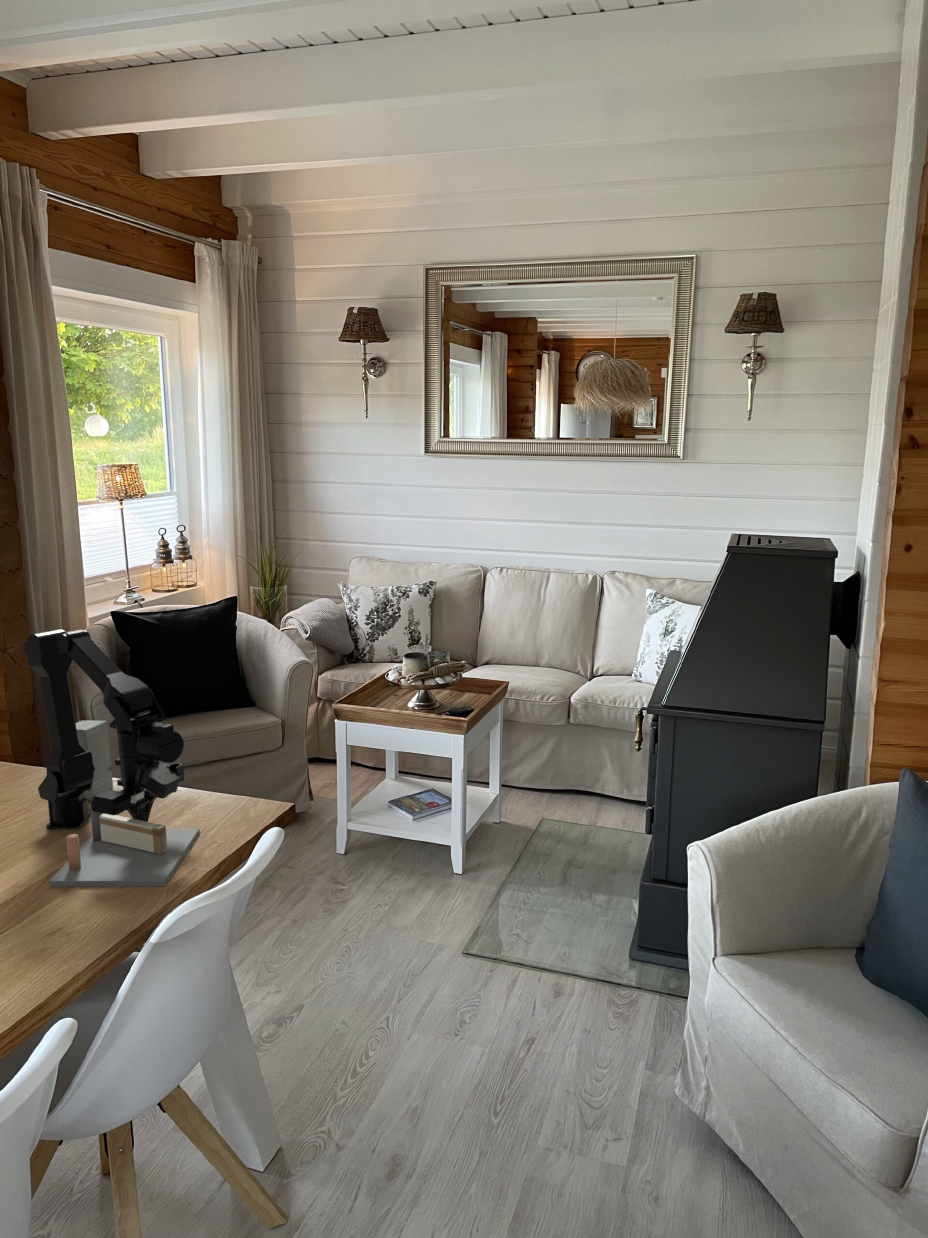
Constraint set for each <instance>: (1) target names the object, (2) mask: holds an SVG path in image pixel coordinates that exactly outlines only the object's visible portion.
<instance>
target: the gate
mask: <svg viewBox="0 0 928 1238" xmlns="http://www.w3.org/2000/svg"><path fill="white" fill-rule="evenodd" d="M99 821H100V828H101V841H106V842H110V843H114V844H119V845H123V846H128V847H132V848H136V849H141V850H145V851H150V852H154V853H157V854H162V853H164V852H166V851H167V839H166V828H167V827H166V824H160V823H154V822H150V821H148V822H145V821H141V820H136V819H133V818H132V817H125V816H122V815H109V814H104V813H102V815H100V819H99Z"/></svg>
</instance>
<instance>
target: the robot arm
mask: <svg viewBox="0 0 928 1238" xmlns="http://www.w3.org/2000/svg"><path fill="white" fill-rule="evenodd" d="M23 652H24V654H25V656H26V660H27V664H28V666H29V667H30V669H32V671H33V672H35V674H36V675H37V676H38V677H39V679H40V685H41V691H42V697H43V703H44V709H45V715H46V720H47V725H48V731H49V738H50V743H51V751H50V752H49V756H48V758H47V760H46V763H45V770H46V776H45V777H44V779H43V780H42V781H41V783H39V785H38V787H37V790H38V794H39V798H40V799H42V800H44V801H45V800H46V801H47V806H48V817H49V823H47V824H46V827H45V828H46V829H78V828H80V827H81V826H82V825H83V824H84V823H85V822H86V821H87V820H88V819H89V818H91V813H90V811H91V810H92V811H94V812H99V813H102V814H109V815H117V816H119V815H120V814H121V813H123V812H125V811H127V812H128V814H129V815H130V818H131V819H136V820H141V821H145V822H149V818H150V815H151V812H152V808H153V805H154V803H155V801H156V799H166V798H167V797H169V796H170V795H171V794H173V793H174V794H175V793H176V792H177V791H178V787H179V784H180V783H183V782H184V780H185V777H184V776H185V769H184V764H183V763H181V762H179V761H177V760H178V759H179V757H181V755H182V752H183V751H184V742H185V741H184V739H183V737H182V735H181V734H180V733H179V732H177V731H175V729H174V725H173V724H170V723H162V722H165V721H167V717H166V715H165V714H164V709H163V708H162V706H161V705H160V704H159V701H158V700H157V698H156V697H155V695H154V693H153V691H152V689H151V688H150V687H149V686H148V685H147V684H146V683H145V682H143V681H141V680H140V679H139V678H138V677H135V676H130V675H129V674H125V673H124V672H123V671H122V670H121V669H120V668H119V667H118V665H116V664H115V663H114V661H113V660H111V658H109V657H108V656H107V654H106V653H105V652H104V651H103V650H102V649H101V648H100V647H99V646H98V645H97V644H96V643H95V642H94V641H93V639H91V634H90V633H89V631H88V630H86V629H81V628H77V629H74V630H70V631H69V630H68V631H65V630H64V629H62V628H57V629H51V630H47V631H46V630H45V631H41V632H36V633H32V634H29V635H28V636H27V637H26V640H25V641H24V642H23ZM73 662H74V663H75V664H76V665H77V666H78V667H79V668H80V669H81V670H82V672H84V673H85V675H86V676H87V677H88V678H89V679H90V680H91V682H93V683H94V685H96V687H97V688H98V689H99V690H100V691H101V692H102V696H103V698H102V699H103V704H104V706H105V708H107V710H108V712H109V713H110V715H111V716H112V717H113V720H112V721H111V722H110V723H109V725H108V726H109V728H110V729H111V728H112V729H115V730H116V735H117V746H118V756H119V757H118V758H116V759H115V758H114V765H115V766H119V767H120V775H121V778H119V779H117V780H116V784H117V786H118V787H122V789H121V790H115V789H107V790H105V791H103V792H101V793H99V794H97V795H95V796H93V798H92V799H91V800H90V808H91V809H90V810H89V800H88V799H87V798H85V791H86V790H90V789H91V788H92V782H93V778H94V771H95V768H94V765H93V760H92V754H91V752H90V751H88V752H86V751H85V750H84V749H83V748H82V747H81V745H80V744H79V741H78V735H77V729H76V723H77V722H76V717H75V714H74V713H75V712H74V711H75V710H74V706H73V699H72V695H71V694H72V693H71V690H70V689H71V688H70V687H71V686H70V681H69V677H68V675H69V674H68V673H69V670H70V668H71V666H72V664H73ZM147 714H149V715H147ZM141 716H142V717H141Z"/></svg>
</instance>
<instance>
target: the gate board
mask: <svg viewBox="0 0 928 1238" xmlns="http://www.w3.org/2000/svg"><path fill="white" fill-rule="evenodd" d="M102 814H103V813H99V812H94V811H92V810H91V807H90V819H91V830H92V831H91V832H92V834H91V835H90V837H88V839H87V840H86V841H85V842H84V843H82V845H81V846H80V838H79V834H76V833H74V834H73V833H72V834H69V835H66V837H65V838H66V848H67V850H66V851H67V859H68V860H67V861H66V862H65V863H64V865H62V867H61V868H60V869H59V870H58V871H57V872H56V873H55V874H54V875H53V876H52V877H51V879H49V887H165V886H166V885H167V884H168V882H169V880H171V877H172V876H173V874H174V873H175V871H176V870H177V869H178V867H179V865H180V864H181V862H182V861H183V860H184V857H185V856H186V855H187V853H188V852H189V850H190V848H192V845H193V844H194V843H195V841H196V840H197V838H198V837H199V835H200V833H201V831H200V827H196V828H195V827H190V828H189V827H180V828H177V827H175V828H173V827H166V839H167V851H166V852H164V853H162V854H157V853H154V852H150V851H145V850H141V849H136V848H132V847H128V846H123V845H119V844H114V843H110V842H106V841H101V828H100V821H99V819H100V815H102Z"/></svg>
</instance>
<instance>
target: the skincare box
mask: <svg viewBox="0 0 928 1238" xmlns="http://www.w3.org/2000/svg"><path fill="white" fill-rule="evenodd" d="M75 723H76V729H77V735H78V741H79V744H80V745H81V747H82V748H83V749H84V750H85V751H86V752H88V751H90V752H91V754H92V760H93V765H94V768H95V771H94V778H93V782H92V788H91V789H90V790H86V791H85V798H87V799H88V801H89V800H90V801H91V799H92V798H93V796H95V795H97V794H99V793H101V792H103V791H105V790H107V789H110V790H112V789H113V788H114V780H113V771H112V763H111V762H112V760H111V751H110V741H109V740H110V739H109V732H108V731H109V730H108V720H93V719H92V720H91V719H90V720H89V719H88V720H87V719H85V720H83V719H82V720H80V721H77V722H75Z"/></svg>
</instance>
